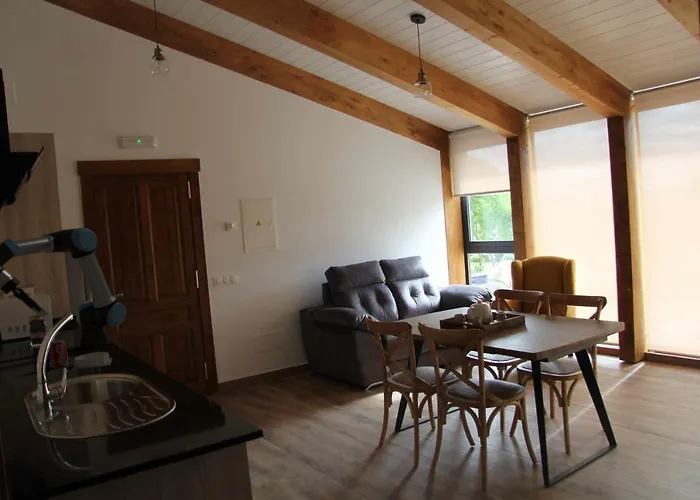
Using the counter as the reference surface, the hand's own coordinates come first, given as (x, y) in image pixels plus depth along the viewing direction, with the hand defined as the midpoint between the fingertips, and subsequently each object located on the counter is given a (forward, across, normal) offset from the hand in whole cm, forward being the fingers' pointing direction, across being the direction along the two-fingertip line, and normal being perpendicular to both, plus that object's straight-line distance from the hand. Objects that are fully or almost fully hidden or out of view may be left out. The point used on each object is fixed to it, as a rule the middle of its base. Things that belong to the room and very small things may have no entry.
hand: (44, 315), depth 273 cm
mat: (+29, +6, -3) cm, 30 cm away
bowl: (+29, +6, -2) cm, 30 cm away
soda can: (+22, -2, -12) cm, 25 cm away
